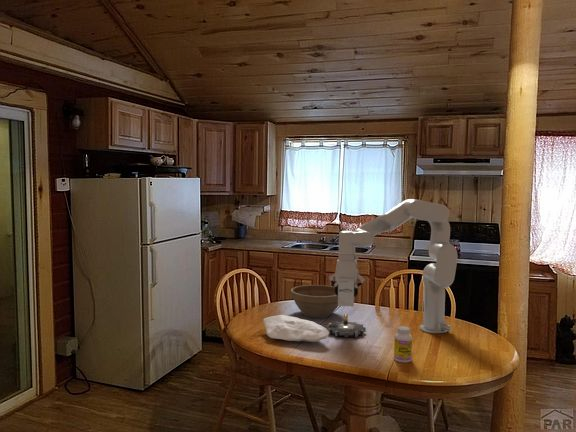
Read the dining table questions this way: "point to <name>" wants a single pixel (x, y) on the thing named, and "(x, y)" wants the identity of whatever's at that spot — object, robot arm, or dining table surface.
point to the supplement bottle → (403, 345)
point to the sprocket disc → (346, 328)
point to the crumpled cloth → (294, 329)
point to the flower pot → (315, 300)
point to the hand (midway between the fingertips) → (346, 295)
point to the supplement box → (345, 292)
